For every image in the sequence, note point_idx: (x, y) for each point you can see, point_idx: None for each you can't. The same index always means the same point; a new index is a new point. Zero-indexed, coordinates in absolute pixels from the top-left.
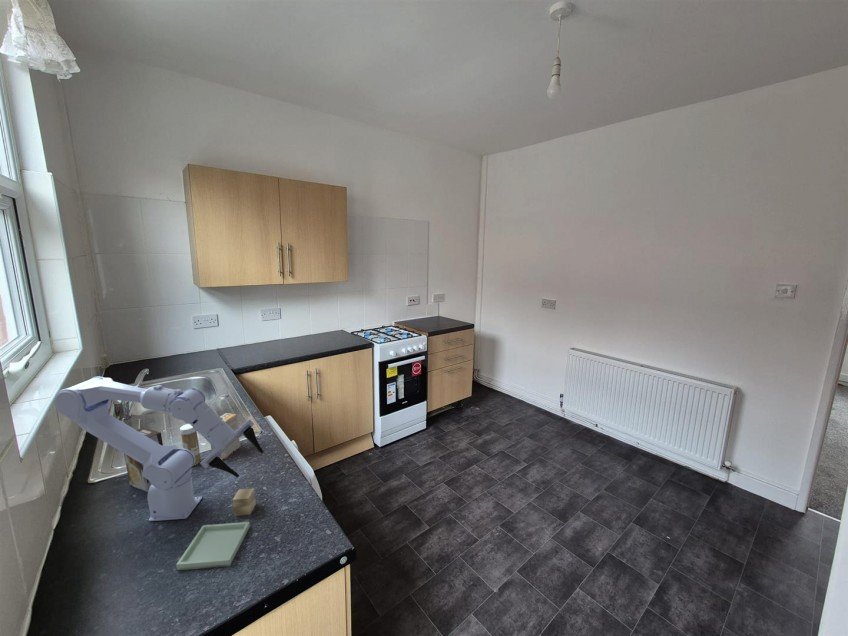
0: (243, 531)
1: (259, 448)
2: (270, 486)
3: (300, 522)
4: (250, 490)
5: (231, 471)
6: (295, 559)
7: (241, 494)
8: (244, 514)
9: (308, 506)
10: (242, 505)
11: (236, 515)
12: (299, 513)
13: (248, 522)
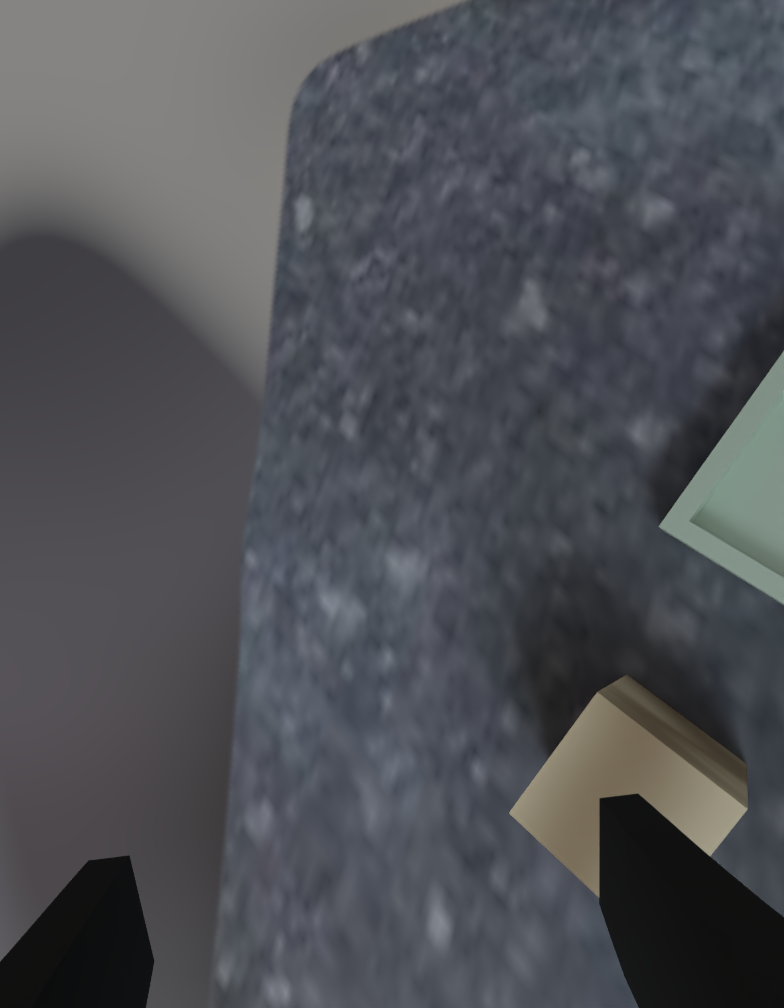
0: (727, 443)
1: (52, 930)
2: (400, 900)
3: (381, 365)
4: (546, 809)
5: (715, 893)
6: (505, 95)
7: None
8: (666, 707)
9: (297, 474)
10: (664, 724)
11: (729, 752)
12: (357, 447)
13: (666, 523)
